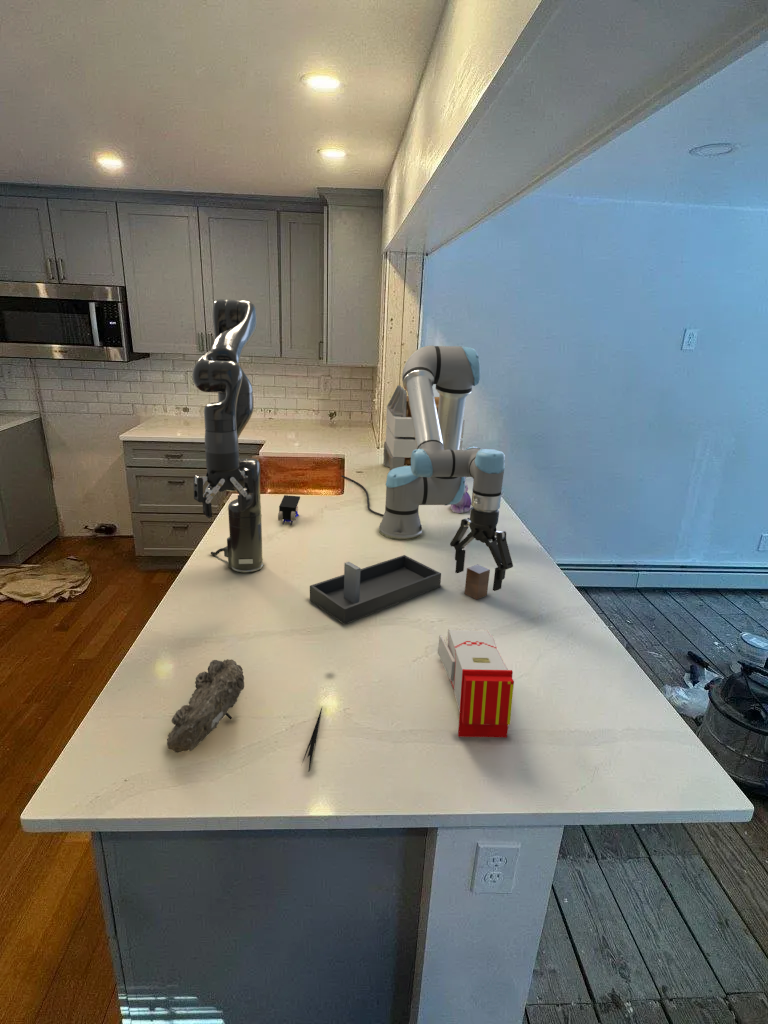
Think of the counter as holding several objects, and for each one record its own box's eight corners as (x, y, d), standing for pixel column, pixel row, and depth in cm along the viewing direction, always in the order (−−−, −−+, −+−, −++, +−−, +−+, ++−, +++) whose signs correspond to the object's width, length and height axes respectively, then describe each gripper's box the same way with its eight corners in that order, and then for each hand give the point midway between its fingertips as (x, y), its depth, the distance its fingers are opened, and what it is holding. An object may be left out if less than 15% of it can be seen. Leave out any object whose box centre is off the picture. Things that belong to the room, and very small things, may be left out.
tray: (309, 599, 153) (309, 562, 149) (403, 567, 174) (405, 534, 170) (344, 624, 142) (345, 585, 138) (440, 586, 163) (443, 551, 159)
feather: (331, 679, 122) (336, 673, 122) (307, 777, 96) (313, 769, 95) (324, 675, 122) (329, 669, 121) (298, 772, 95) (304, 764, 95)
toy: (488, 613, 130) (523, 677, 101) (484, 667, 133) (517, 744, 104) (435, 612, 130) (455, 676, 101) (432, 666, 133) (451, 743, 103)
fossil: (192, 660, 117) (244, 628, 112) (224, 691, 120) (276, 661, 115) (142, 746, 98) (202, 712, 93) (182, 779, 101) (242, 748, 96)
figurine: (457, 515, 220) (461, 478, 215) (443, 507, 229) (446, 471, 224) (477, 512, 224) (481, 475, 219) (462, 504, 233) (466, 469, 228)
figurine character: (296, 530, 202) (301, 512, 215) (295, 511, 198) (300, 494, 212) (277, 530, 201) (283, 511, 215) (276, 511, 198) (282, 493, 211)
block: (464, 593, 160) (466, 568, 157) (474, 589, 163) (477, 563, 160) (476, 600, 157) (479, 573, 154) (487, 595, 159) (490, 569, 157)
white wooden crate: (382, 463, 289) (386, 382, 275) (445, 464, 293) (451, 384, 279) (390, 482, 257) (394, 392, 243) (460, 483, 261) (468, 394, 247)
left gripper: (199, 455, 125) (204, 524, 131) (257, 448, 134) (259, 512, 140) (185, 448, 130) (190, 514, 136) (242, 441, 139) (244, 504, 145)
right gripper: (441, 498, 157) (436, 568, 164) (514, 524, 140) (505, 601, 146) (459, 494, 162) (453, 562, 169) (532, 518, 144) (522, 593, 151)
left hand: (225, 513), depth 138 cm, fingers open, 8 cm apart
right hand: (477, 580), depth 158 cm, fingers open, 13 cm apart
